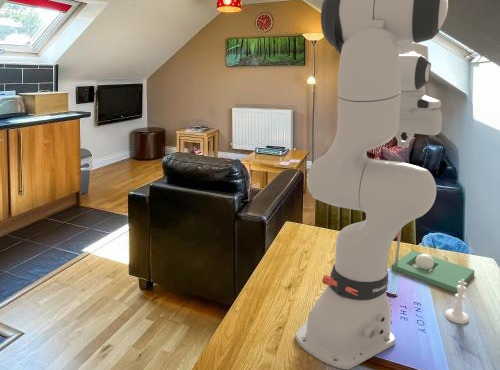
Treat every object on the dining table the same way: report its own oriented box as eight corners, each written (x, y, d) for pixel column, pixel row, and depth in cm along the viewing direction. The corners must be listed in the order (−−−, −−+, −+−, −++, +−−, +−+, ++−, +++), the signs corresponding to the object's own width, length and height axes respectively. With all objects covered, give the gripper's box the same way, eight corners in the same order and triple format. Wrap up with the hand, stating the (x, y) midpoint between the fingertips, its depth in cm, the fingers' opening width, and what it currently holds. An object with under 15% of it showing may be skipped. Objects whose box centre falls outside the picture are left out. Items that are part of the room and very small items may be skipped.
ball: (409, 262, 112) (417, 274, 114) (425, 262, 108) (433, 275, 110) (415, 250, 115) (423, 262, 116) (431, 250, 111) (439, 262, 112)
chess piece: (447, 308, 94) (453, 272, 91) (470, 316, 91) (477, 278, 88) (442, 318, 90) (448, 280, 88) (466, 326, 88) (472, 287, 85)
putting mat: (451, 297, 99) (459, 249, 95) (386, 272, 112) (391, 229, 108) (473, 274, 110) (481, 231, 106) (412, 254, 123) (417, 215, 119)
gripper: (370, 100, 120) (367, 143, 123) (438, 103, 105) (431, 152, 109) (381, 99, 124) (377, 141, 128) (447, 102, 110) (440, 149, 113)
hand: (403, 146), depth 118 cm, fingers closed
